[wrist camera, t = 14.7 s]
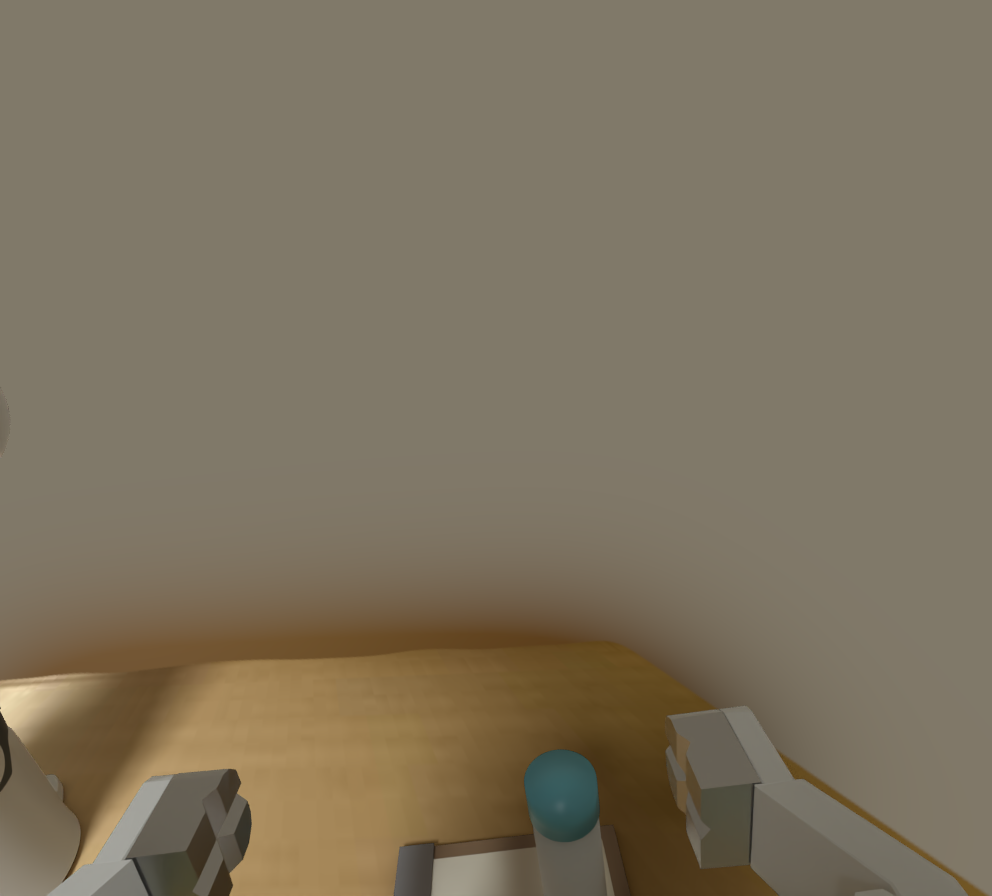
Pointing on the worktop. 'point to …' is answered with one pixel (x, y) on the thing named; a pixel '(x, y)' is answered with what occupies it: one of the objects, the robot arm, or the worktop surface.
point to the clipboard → (491, 868)
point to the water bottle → (566, 824)
